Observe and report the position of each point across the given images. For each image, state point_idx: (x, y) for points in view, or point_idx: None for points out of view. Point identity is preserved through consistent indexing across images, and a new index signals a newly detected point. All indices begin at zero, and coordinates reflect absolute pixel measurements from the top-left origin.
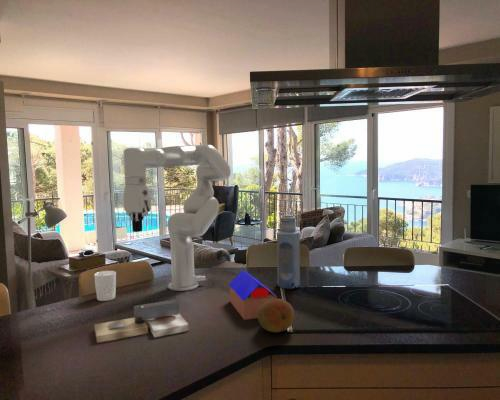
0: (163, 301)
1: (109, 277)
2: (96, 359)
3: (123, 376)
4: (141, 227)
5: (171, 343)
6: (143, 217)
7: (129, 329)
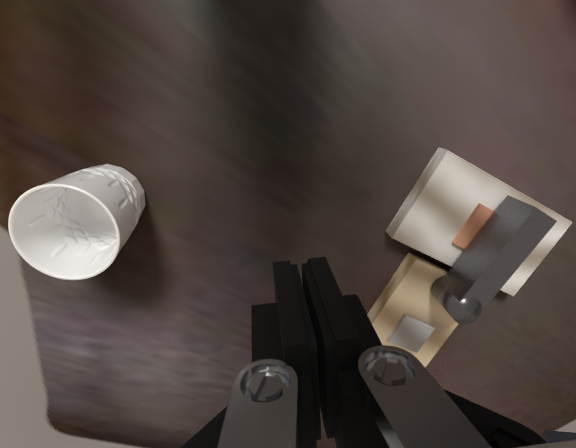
0: (506, 243)
1: (122, 235)
2: (464, 395)
3: (549, 394)
4: (359, 304)
5: (556, 282)
6: (482, 411)
7: (453, 323)
